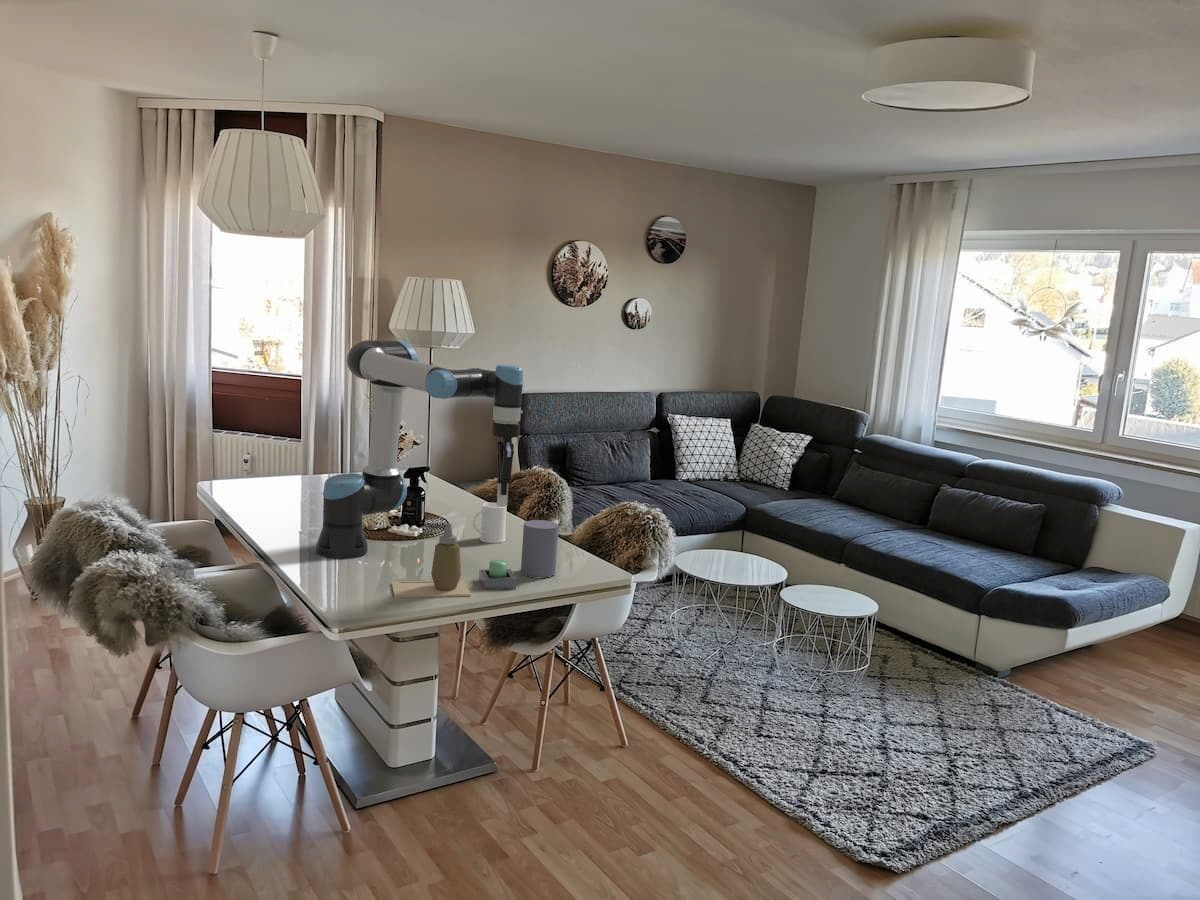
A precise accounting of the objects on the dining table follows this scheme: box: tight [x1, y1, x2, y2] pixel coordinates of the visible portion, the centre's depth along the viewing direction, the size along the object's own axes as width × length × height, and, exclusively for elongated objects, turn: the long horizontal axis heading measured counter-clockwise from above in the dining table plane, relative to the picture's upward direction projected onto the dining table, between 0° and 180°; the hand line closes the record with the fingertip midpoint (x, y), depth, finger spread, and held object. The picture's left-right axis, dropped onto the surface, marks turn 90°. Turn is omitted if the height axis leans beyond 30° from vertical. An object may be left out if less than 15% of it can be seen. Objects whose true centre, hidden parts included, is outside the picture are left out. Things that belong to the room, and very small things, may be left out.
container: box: [520, 519, 560, 578], centre depth 269 cm, size 10×10×15 cm
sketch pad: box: [391, 580, 471, 599], centre depth 248 cm, size 20×12×1 cm, turn 106°
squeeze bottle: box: [430, 522, 462, 590], centre depth 247 cm, size 8×8×18 cm
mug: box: [472, 502, 508, 544], centre depth 302 cm, size 12×8×12 cm
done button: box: [488, 559, 508, 578], centre depth 256 cm, size 5×5×5 cm
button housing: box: [478, 568, 517, 591], centre depth 257 cm, size 9×9×3 cm
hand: (502, 505), depth 253 cm, fingers closed
